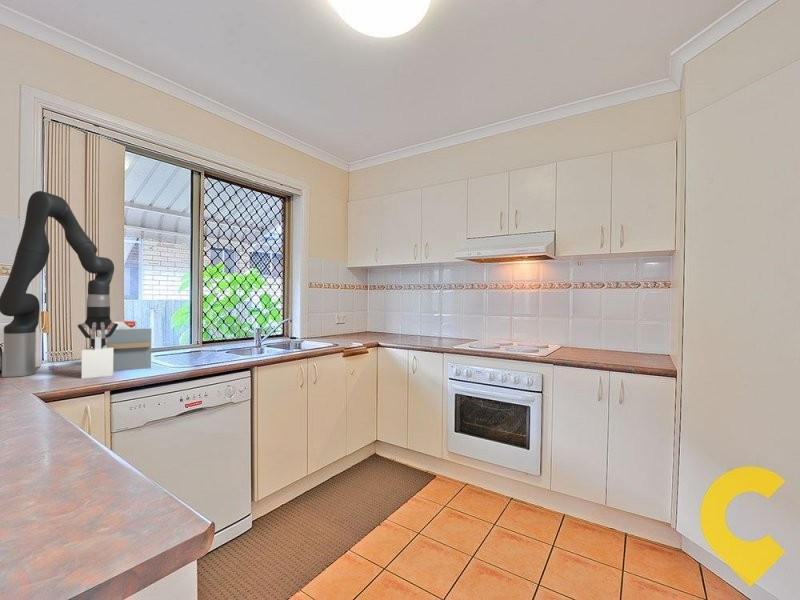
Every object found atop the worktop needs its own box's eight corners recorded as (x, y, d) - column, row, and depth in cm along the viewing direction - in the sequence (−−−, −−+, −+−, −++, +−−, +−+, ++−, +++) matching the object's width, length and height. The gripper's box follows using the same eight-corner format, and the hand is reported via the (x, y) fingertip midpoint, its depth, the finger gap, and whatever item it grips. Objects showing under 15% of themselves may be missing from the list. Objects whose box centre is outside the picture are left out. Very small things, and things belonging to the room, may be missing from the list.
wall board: (106, 372, 162) (107, 330, 162) (106, 369, 168) (107, 329, 168) (151, 368, 172) (151, 329, 172) (149, 366, 178) (150, 327, 178)
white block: (81, 378, 150) (82, 338, 150) (82, 375, 156) (82, 336, 156) (113, 375, 157) (113, 336, 156) (112, 372, 162) (113, 335, 162)
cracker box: (97, 367, 172) (97, 321, 172) (99, 365, 178) (100, 320, 177) (134, 365, 180) (135, 321, 179) (135, 363, 185) (136, 320, 185)
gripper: (75, 305, 148) (75, 350, 148) (119, 305, 156) (119, 347, 157) (77, 305, 154) (76, 347, 154) (119, 305, 162) (118, 345, 163)
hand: (98, 347), depth 155 cm, fingers closed on white block
